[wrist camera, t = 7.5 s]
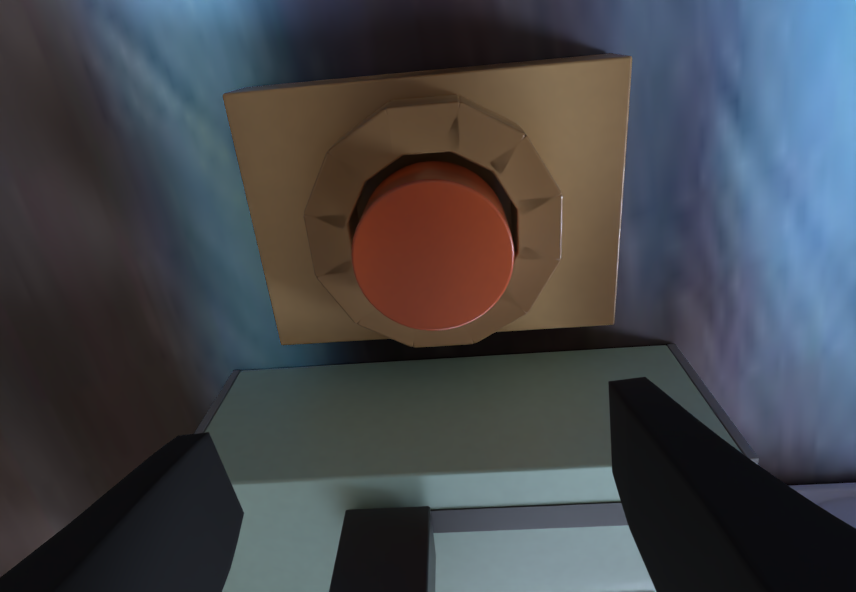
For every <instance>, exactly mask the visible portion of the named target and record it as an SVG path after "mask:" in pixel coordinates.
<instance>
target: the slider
mask: <svg viewBox="0 0 856 592" xmlns="http://www.w3.org/2000/svg"><path fill="white" fill-rule="evenodd" d="M435 579H436V552H435V543H434V535H433V526H432V518H431V509H430V507H429V506H418V507H395V508H372V509H349V510H346V511H345V515H344V520H343V525H342V530H341V535H340V540H339V545H338V549H337V554H336V559H335V564H334V569H333V574H332V579H331V584H330V588H329V592H435Z"/></svg>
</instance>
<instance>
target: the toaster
mask: <svg viewBox="0 0 856 592" xmlns="http://www.w3.org/2000/svg"><path fill="white" fill-rule="evenodd" d="M639 377H646V378H647V379H649V380H650V381H651V382H653V383H654V384H655V385H656V386H658V387H659V388H660V389H661V390H662V391H664V392H665V393H666V394H667V395H669V396H670V397H671V398H672V399H673V400H675V401H676V402H677V403H678V404H680V405H681V406H682V407H683V408H684V409H686V410H687V411H688V412H689V413H691V414H692V415H693V416H694V417H696V418H697V419H698V420H699V421H701V422H702V423H703V424H704V425H706V426H707V427H708V428H710V429H711V430H712V431H713V432H715V433H716V434H717V435H719V436H720V437H721V438H722V439H724V440H725V441H726V442H728V443H729V444H731V445H732V446H733V447H735V448H736V449H737V450H739V451H740V452H741V453H743V454H744V455H745V456H747V457H748V458H749V459H751V460H752V461H753V462H755V463H756V464H757V465H758V461H759V458H758V456H757V455H756V454H755V452H754V451H753V450H752V448H751V447H750V445H749V444H748V443H747V441H746V440H745V439H744V437H743V436H742V435H741V433H740V432H739V430H738V429H737V428H736V426H735V425H734V424H733V422H732V421H731V420H730V418H729V417H728V415H727V414H726V413H725V411H724V410H723V409H722V407H721V406H720V405H719V403H718V402H717V400H716V399H715V398H714V396H713V395H712V394H711V392H710V391H709V390H708V388H707V387H706V385H705V384H704V383H703V381H702V380H701V379H700V377H699V376H698V375H697V373H696V372H695V370H694V369H693V368H692V366H691V365H690V364H689V362H688V361H687V359H686V358H685V357H684V355H683V354H682V353H681V351H680V350H679V349H678V347H677V346H676V344H667V346H666V345H659V346H642V347H625V348H609V349H592V350H575V351H559V352H542V353H525V354H509V355H492V356H475V357H459V358H442V359H425V360H409V361H392V362H375V363H359V364H342V365H325V366H308V367H292V368H275V369H258V370H243V371H240V370H233V371H232V373H231V375H230V376H229V378H228V380H227V381H226V383H225V384H224V386H223V388H222V389H221V391H220V392H219V394H218V396H217V397H216V399H215V401H214V402H213V404H212V405H211V407H210V409H209V410H208V412H207V413H206V415H205V417H204V418H203V420H202V422H201V423H200V425H199V426H198V428H197V430H196V431H195V433H194V434H198V433H205V432H209V433H210V436H211V438H212V440H213V443H214V445H215V447H216V450H217V452H218V454H219V456H220V459H221V461H222V463H223V466H224V468H225V470H226V472H227V475H228V477H229V479H230V482H231V484H232V486H233V488H234V491H235V493H236V495H237V498H238V500H239V502H240V505H241V507H242V509H243V511H244V516H243V520H242V525H241V529H240V534H239V538H238V543H237V546H236V550H235V554H234V558H233V561H232V565H231V569H230V571H229V574H228V577H227V580H226V582H225V585H224V588H223V590H222V592H329V588H330V584H331V579H332V574H333V569H334V564H335V559H336V554H337V549H338V545H339V540H340V535H341V530H342V525H343V520H344V515H345V511H346V510H349V509H372V508H395V507H418V506H429V507H430V509H431V518H432V526H433V535H434V543H435V552H436V579H435V592H656V589H655V587H654V585H653V583H652V580H651V578H650V576H649V573H648V571H647V569H646V566H645V564H644V562H643V559H642V557H641V555H640V552H639V550H638V548H637V545H636V543H635V541H634V538H633V536H632V534H631V531H630V529H629V526H628V523H627V520H626V516H625V513H624V510H623V507H622V504H621V500H620V497H619V494H618V490H617V487H616V484H615V480H614V477H613V474H612V457H611V433H610V408H609V384H608V381H615V380H623V379H631V378H639Z"/></svg>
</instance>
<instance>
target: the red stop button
mask: <svg viewBox="0 0 856 592" xmlns="http://www.w3.org/2000/svg"><path fill="white" fill-rule="evenodd" d="M514 256H515V253H514V243H513V239H512V234H511V231H510V228H509V225H508V222H507V219H506V216H505V213H504V210H503V207H502V205H501V202H500V200H499V199H498V197H497V195H496V193H495V192H494V191H493V189H492V188H491V187H490V185H489V184H488V183H487V182H485V181H484V180H483V179H482V178H481V177H480V176H478V175H477V174H476V173H474V172H472V171H471V170H469V169H467V168H465V167H462V166H460V165H457V164H453V163H449V162H442V161H425V162H418V163H415V164H411V165H408V166H406V167H403V168H401V169H399V170H397V171H396V172H394V173H392V174H391V175H389V176H388V177H387V178H386V179H384V180H383V181H382V182H381V183H380V185H379V186H378V187H377V188H376V189H375V191H374V192H373V193H372V195H371V197H370V199H369V201H368V203H367V205H366V207H365V209H364V211H363V214H362V216H361V218H360V220H359V223H358V225H357V228H356V230H355V233H354V237H353V242H352V251H351V258H352V267H353V271H354V275H355V278H356V280H357V283H358V285H359V287H360V289H361V291H362V293H363V294H364V295H365V297H366V298H367V299H368V301H369V302H370V303H371V304H372V305H373V306H374V307H375V308H376V309H377V310H378V311H379V312H381V313H382V314H383V315H384V316H386V317H388V318H389V319H391V320H393V321H395V322H397V323H399V324H401V325H404V326H407V327H409V328H414V329H418V330H427V331H441V330H449V329H453V328H457V327H460V326H463V325H466V324H468V323H470V322H472V321H474V320H476V319H478V318H479V317H481V316H482V315H484V314H485V313H486V312H487V311H488V310H490V309H491V308H492V307H493V306H494V305H495V304H496V302H497V301H498V300H499V299H500V297H501V296H502V295H503V293H504V292H505V290H506V288H507V286H508V284H509V281H510V278H511V275H512V272H513V267H514Z"/></svg>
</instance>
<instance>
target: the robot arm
mask: <svg viewBox="0 0 856 592" xmlns="http://www.w3.org/2000/svg"><path fill="white" fill-rule="evenodd" d="M608 384H609V408H610V433H611V457H612V474H613V477H614V480H615V484H616V487H617V490H618V494H619V497H620V500H621V504H622V507H623V510H624V513H625V516H626V520H627V523H628V526H629V529H630V531H631V534H632V536H633V538H634V541H635V543H636V545H637V548H638V550H639V552H640V555H641V557H642V559H643V562H644V564H645V566H646V569H647V571H648V573H649V576H650V578H651V580H652V583H653V585H654V587H655V589H656V592H856V483H835V484H812V485H789V486H788V485H786V484H785V483H783V482H782V481H780V480H779V479H777V478H776V477H774V476H773V475H771V474H770V473H769V472H767V471H766V470H764V469H763V468H762V467H760V466H759V465H757V464H756V463H755V462H753V461H752V460H751V459H749V458H748V457H747V456H745V455H744V454H743V453H741V452H740V451H739V450H737V449H736V448H735V447H733V446H732V445H731V444H729V443H728V442H726V441H725V440H724V439H722V438H721V437H720V436H719V435H717V434H716V433H715V432H713V431H712V430H711V429H710V428H708V427H707V426H706V425H704V424H703V423H702V422H701V421H699V420H698V419H697V418H696V417H694V416H693V415H692V414H691V413H689V412H688V411H687V410H686V409H684V408H683V407H682V406H681V405H680V404H678V403H677V402H676V401H675V400H673V399H672V398H671V397H670V396H669V395H667V394H666V393H665V392H664V391H662V390H661V389H660V388H659V387H658V386H656V385H655V384H654V383H653V382H651V381H650V380H649V379H647V378H646V377H639V378H631V379H623V380H615V381H608ZM243 516H244V511H243V509H242V507H241V505H240V502H239V500H238V498H237V495H236V493H235V491H234V488H233V486H232V484H231V482H230V479H229V477H228V475H227V472H226V470H225V468H224V466H223V463H222V461H221V459H220V456H219V454H218V452H217V450H216V447H215V445H214V443H213V440H212V438H211V436H210V433H209V432H205V433H198V434H190V435H182V436H177V437H176V438H174V439H173V440H172V441H170V442H169V443H167V444H166V445H165V446H163V447H162V448H161V449H159V450H158V451H157V452H156V453H154V454H153V455H152V456H150V457H149V458H148V459H147V460H146V461H144V462H143V463H142V464H141V465H139V466H138V467H137V468H136V469H135V470H133V471H132V472H131V473H130V474H128V475H127V476H126V477H125V478H124V479H122V480H121V481H120V482H119V483H118V484H116V485H115V486H114V487H113V488H112V489H110V490H109V491H108V492H107V493H106V494H104V495H103V496H102V497H101V498H100V499H98V500H97V501H96V502H95V503H94V504H92V505H91V506H90V507H89V508H88V509H86V510H85V511H84V512H83V513H81V514H80V515H79V516H78V517H77V518H75V519H74V520H73V521H72V522H71V523H69V524H68V525H67V526H66V527H64V528H63V529H62V530H61V531H59V532H58V533H57V534H55V535H54V536H53V537H52V538H50V539H49V540H48V541H47V542H45V543H44V544H43V545H41V546H40V547H39V548H38V549H36V550H35V551H34V552H33V553H31V554H30V555H29V556H27V557H26V558H25V559H24V560H22V561H21V562H20V563H18V564H17V565H16V566H15V567H13V568H12V569H11V570H10V571H8V572H7V573H6V574H4V575H3V576H2V577H1V578H0V592H222V590H223V588H224V585H225V582H226V580H227V577H228V574H229V571H230V569H231V565H232V561H233V558H234V554H235V550H236V546H237V543H238V538H239V534H240V529H241V525H242V520H243Z"/></svg>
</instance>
